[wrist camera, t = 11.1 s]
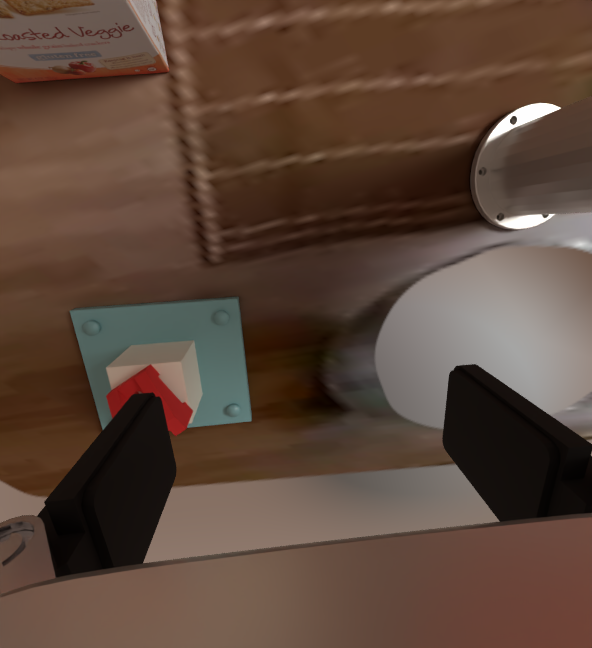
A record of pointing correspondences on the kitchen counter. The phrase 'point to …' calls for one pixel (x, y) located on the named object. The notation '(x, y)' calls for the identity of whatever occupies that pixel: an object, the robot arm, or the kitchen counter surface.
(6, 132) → the kitchen counter surface
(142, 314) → the baseplate
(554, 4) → the kitchen counter surface
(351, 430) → the kitchen counter surface
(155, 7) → the cracker box
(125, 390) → the bracket
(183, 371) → the base block
